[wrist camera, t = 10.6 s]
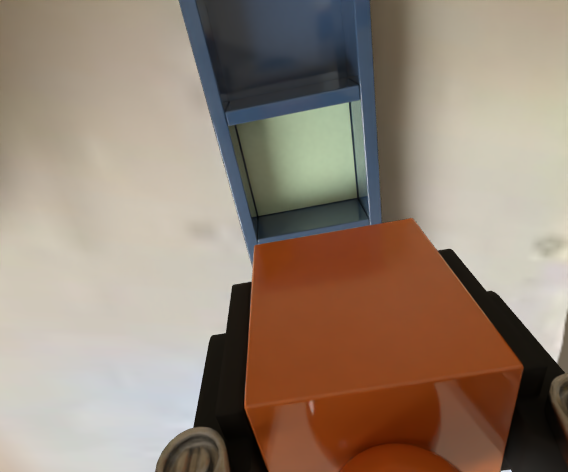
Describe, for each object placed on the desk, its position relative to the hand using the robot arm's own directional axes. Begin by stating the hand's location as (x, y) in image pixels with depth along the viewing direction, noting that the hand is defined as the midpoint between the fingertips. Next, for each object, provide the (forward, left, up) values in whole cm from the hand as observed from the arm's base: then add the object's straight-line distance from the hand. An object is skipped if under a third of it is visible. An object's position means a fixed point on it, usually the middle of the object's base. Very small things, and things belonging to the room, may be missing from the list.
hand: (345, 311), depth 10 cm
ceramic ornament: (0, 0, -1) cm, 1 cm away
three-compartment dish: (0, 0, -14) cm, 14 cm away
